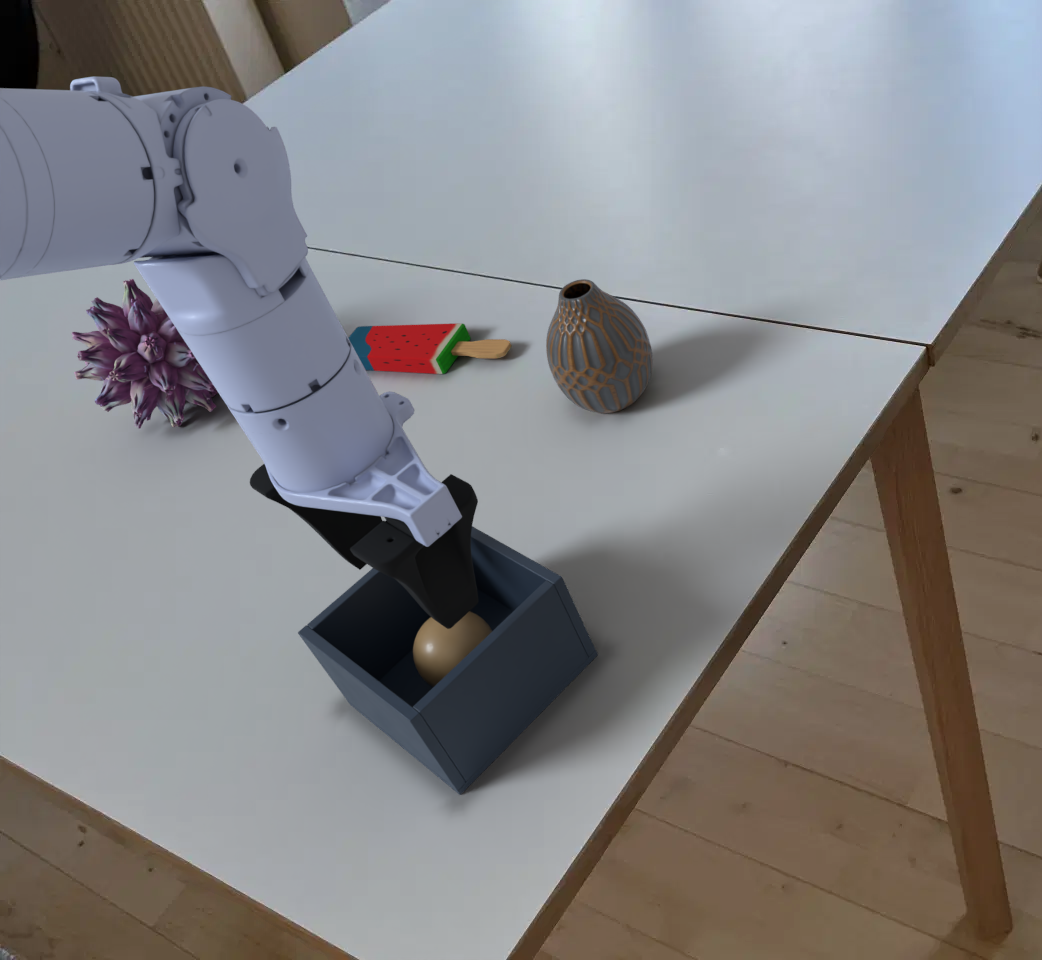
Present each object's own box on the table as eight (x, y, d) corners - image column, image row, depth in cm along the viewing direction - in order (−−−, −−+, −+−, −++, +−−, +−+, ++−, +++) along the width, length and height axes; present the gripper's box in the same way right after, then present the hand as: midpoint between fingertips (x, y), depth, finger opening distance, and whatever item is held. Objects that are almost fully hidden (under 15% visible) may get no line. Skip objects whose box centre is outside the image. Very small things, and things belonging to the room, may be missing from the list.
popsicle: (491, 360, 81) (330, 357, 87) (498, 375, 82) (338, 372, 88) (517, 322, 84) (359, 322, 90) (523, 338, 84) (367, 337, 91)
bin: (460, 795, 55) (410, 721, 51) (349, 704, 62) (297, 632, 57) (598, 654, 59) (562, 576, 55) (481, 583, 66) (441, 508, 62)
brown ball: (464, 722, 58) (433, 672, 55) (415, 685, 61) (384, 635, 58) (523, 664, 60) (496, 613, 57) (473, 631, 63) (445, 580, 60)
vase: (676, 364, 77) (644, 257, 71) (641, 430, 72) (604, 322, 67) (589, 362, 80) (551, 259, 74) (550, 425, 75) (507, 321, 70)
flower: (269, 428, 88) (112, 478, 84) (237, 360, 96) (93, 402, 92) (227, 299, 80) (53, 347, 76) (196, 238, 89) (39, 278, 85)
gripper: (460, 357, 44) (565, 584, 52) (277, 282, 53) (392, 486, 61) (320, 467, 41) (456, 688, 49) (152, 368, 50) (291, 569, 58)
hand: (413, 582), depth 55 cm, fingers open, 7 cm apart
